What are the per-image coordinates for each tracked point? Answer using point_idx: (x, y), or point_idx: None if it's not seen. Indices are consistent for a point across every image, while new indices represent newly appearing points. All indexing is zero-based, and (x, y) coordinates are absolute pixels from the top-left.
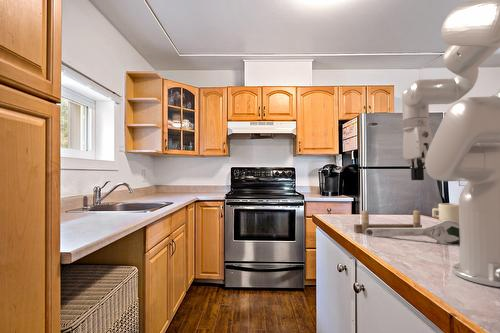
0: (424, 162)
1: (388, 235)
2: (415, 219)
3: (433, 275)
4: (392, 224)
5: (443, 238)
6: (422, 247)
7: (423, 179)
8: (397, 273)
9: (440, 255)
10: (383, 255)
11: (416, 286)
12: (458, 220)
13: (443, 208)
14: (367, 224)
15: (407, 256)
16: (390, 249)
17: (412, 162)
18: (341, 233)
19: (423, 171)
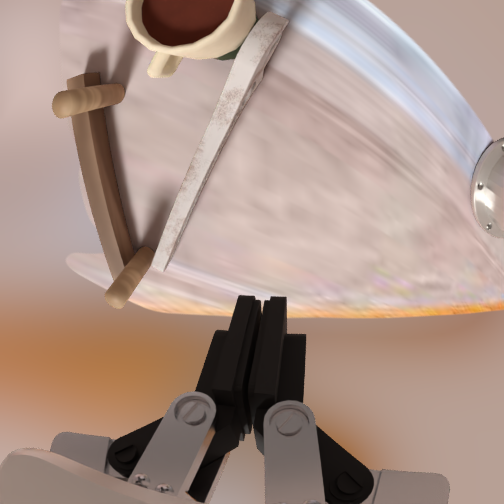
0: (378, 472)
1: (189, 216)
2: (91, 107)
3: (479, 267)
4: (87, 172)
5: (262, 75)
6: (306, 166)
7: (286, 299)
8: (456, 312)
9: (388, 168)
10: (369, 297)
11: (493, 308)
12: (254, 9)
13: (209, 48)
14: (141, 270)
15: (385, 253)
16: (324, 263)
17: (215, 486)
18: (156, 309)
19: (280, 360)
